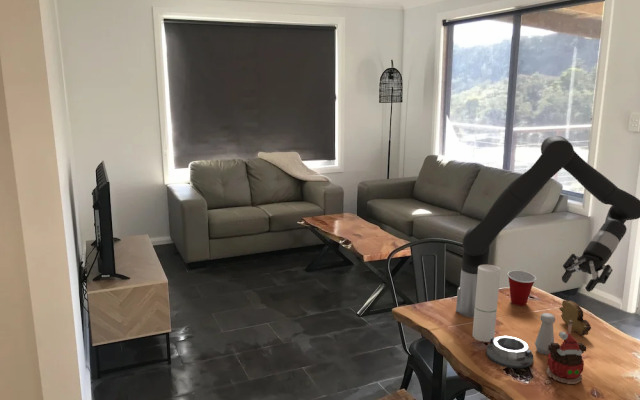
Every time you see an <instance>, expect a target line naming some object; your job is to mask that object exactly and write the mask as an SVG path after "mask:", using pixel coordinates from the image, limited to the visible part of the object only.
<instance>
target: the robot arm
mask: <svg viewBox="0 0 640 400" xmlns="http://www.w3.org/2000/svg"><path fill="white" fill-rule="evenodd" d="M540 153H541V155H540V156H539V157H538V159H537V160H535V163H534V164H533V165H532V166H530V168H529V169H528V170H527V171H525V172H523V173H522V174H521V175H520V176H518V177H516V178H515V179H514V180H513V181H511V182H510V183H509V185H507V186H506V187H505V189H504V190H503V191H502V192H501V193H500V194H499V195H498V197H497V198H496V199H495V201H494V203H493V204H492V206H491V207H490V208H489V210H488V212H487V213H486V215H485V216H484V218H483V219H482V220H480V222H478V223H477V225H476V226H473V227H470V228H469V229H468V230H467V231H466V232H465V234H464V236H463V239H462V248H463V252H462V259H461V265H460V266H461V268H460V270H461V271H460V280H459V283H460V284H459V287H457V293H456V305H455V307H456V308H455V312H456V313H459V314H460V315H461V316H463V317H466V318H471V319H472V318H473V319H474V310H475V298H476V286H477V274H478V266H480V265H489V255H490V246H491V244H492V243H493V242H494V240H495V239H496V238H497V236H498V235H499V234H500V233H501V232H502V230H504V229H505V228H506V227H507V226H508V225H509V224H510V223H512V222H513V221H514V220H515V218H517V216H518V215H520V213H521V212H522V211H524V209H526V207H527V206H528V205H529V204H530V203H531V201H533V200H534V198H535V197H536V196H537V195H538V193H540V191H541V190H542V189H543V187H544V186H545V185H546V184H547V183H548V182H549V181H550V180H552V178H553V177H554V176H555V175H556V174H557V173H558V172H560V171H561V170H562V169H563V170H565V171H566V172H568V174H569V175H571V176H572V177H573V178H574V179H575V180H576V181H577V182H578V183H579V184H580V185H581V186H582V187H583V188H584V189H585V190H586V191H587V192H589V193H590V194H591V195H592V196H593V197H594V198H596V199H597V201H599V202H601V203H602V204H605V205H610V207H609V209H608V212H607V215H606V217H605V221H604V223H603V224H602V225H601V227H600V228H599V230H598V231H597V233H596V234H594V236H593V237H592V239H591V240H590V241H589V243H588V245H587V246H586V248H585V249H584V250H583V251H582V252H583V253H582V255H581V256H577V255H576V254H575V253H571V254H570V256H569V257H568V259H566V261H565V262H564V263H563V265H562V267H563V269H564V270H565V272H564V273H563V275H562V276H561V281H562V282H563V283H565V284H567V283H568V282H569V281H570V278H571V277H572V276H573V275H574V274H575V273H581V272H582V273H587V274H588V275H591V276H592V278H590V280H589V281H588V283H587V284H586V286H585V289H584V290H585V291H587V292H589V293H590V292H591V291H593V290H595V288H596V287H597V286H596V285H597V284H603V285H605V284H606V282H607V281H608V279H609V278H610V276H611V274H612V272H613V268H612V266H611V265H610V264H607V263H608V261H609V260H610V259H611V257H612V255H613V254H614V252H615V251H616V249H617V247H618V246H619V244H620V242H621V240H622V239H623V238H624V236H625V235H626V233H627V226H626V224H625V223H626V221H627V222H628V221H631V220H633V221H634V220H638V219H640V199H639V198H638V197H637V196H635V195H633V194H631V193H630V192H627V191H625V190H624V189H621V188H619V187H618V186H616V184H614V182H612V181H611V180H610V179H608V178H607V177H606V176H605V175H604V174H602V173H601V172H600V171H598V170H597V169H596V168H594V167H593V166H592V165H591V164H589V163H588V162H586V161H585V160H584V159H583V158H582V157H581V156H580V155H579V154H578V153H577V152H576V151H575V149H574V147H573V145H572V142H570V141H569V140H567V138H565V137H563V136H561V135H551V136H547V138H545V139H544V140H543V142H541V145H540ZM599 271H602V272H601V274H600V275H599Z"/></svg>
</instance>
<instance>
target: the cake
mask: <svg viewBox="0 0 640 400" xmlns="http://www.w3.org/2000/svg"><path fill="white" fill-rule="evenodd" d="M571 328H572V321H571V320H569V324H568V326H567V331H566V332H565V331H560V332H559V333H558V337H559V338H560V339H561V340H563V341H562V343H561V344H560V343H558V342H554V343H551V345H548V350H549V351H550V353H549V354H548V355H547V367H546V374H547V375H548V377H550V378H553V380H554V381H558V382H560V383H566V384H569V385H570V384H571V385H572V384H573V385H577V383H580V382H581V381H582V379H583V378H582V376H583V375H582V373H583V372H584V366H585V363H584V361H585V360H584V359H583V356H582V354H584V352H586V351H587V346H586V345H585V344H584V343H583V342H578V341H577V340H576V339H575V338H574V337H573V335H572V330H571Z"/></svg>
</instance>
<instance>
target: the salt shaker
mask: <svg viewBox="0 0 640 400" xmlns="http://www.w3.org/2000/svg"><path fill="white" fill-rule="evenodd" d="M539 317H540V318H539V319H540V322H541V324H540V327H539V331H538V333H537V336H536V339H535V342H534V345H535V348H536V352H538V353H539V354H541V355H547V356H548V354H549V353H550V351H549V350H548V345H551V343H555V334H554V325H553V324H554V323H555V322H556V317H555V316H554V314H552V313H548V312H544V313H542V314H540V316H539Z"/></svg>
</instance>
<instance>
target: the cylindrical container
mask: <svg viewBox="0 0 640 400" xmlns="http://www.w3.org/2000/svg"><path fill="white" fill-rule="evenodd" d="M500 277H501V268H500V267H498V266H496V265H493V264H488V265H480V266H478V274H477V286H476V298H475V310H474V318H473V323H472V325H473V326H472V334H471V335H472V338H473V337H474V338H473V339H475V340H477V341H478V342H482V341H483V342H482V343H490V339H491V338H493V337H494V338H495V335H496V334H495V333H496V321H497V312H498V311H497V310H498V299H499V289H500V279H501V278H500Z"/></svg>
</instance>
